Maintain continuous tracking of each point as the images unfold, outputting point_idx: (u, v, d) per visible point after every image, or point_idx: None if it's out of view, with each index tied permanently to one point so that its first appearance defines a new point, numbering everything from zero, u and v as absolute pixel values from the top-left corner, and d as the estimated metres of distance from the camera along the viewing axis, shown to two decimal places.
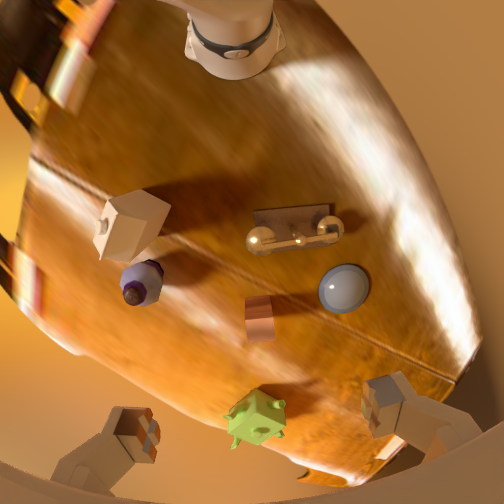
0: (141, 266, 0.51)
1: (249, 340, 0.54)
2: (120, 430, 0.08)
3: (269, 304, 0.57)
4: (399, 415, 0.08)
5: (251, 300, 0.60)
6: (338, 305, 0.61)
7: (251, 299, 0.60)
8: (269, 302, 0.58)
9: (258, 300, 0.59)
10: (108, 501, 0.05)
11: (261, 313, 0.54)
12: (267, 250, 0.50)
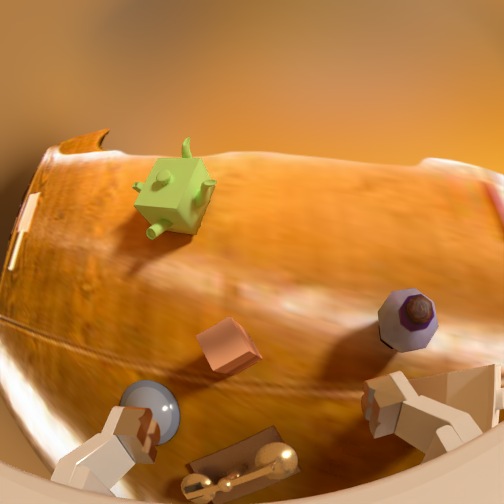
0: (418, 347, 0.31)
1: (229, 321, 0.36)
2: (121, 429, 0.08)
3: (227, 372, 0.38)
4: (399, 415, 0.08)
5: (253, 362, 0.40)
6: (145, 391, 0.42)
7: (253, 362, 0.41)
8: (228, 373, 0.39)
9: (244, 366, 0.40)
10: (108, 501, 0.05)
11: (231, 364, 0.35)
12: (262, 453, 0.29)
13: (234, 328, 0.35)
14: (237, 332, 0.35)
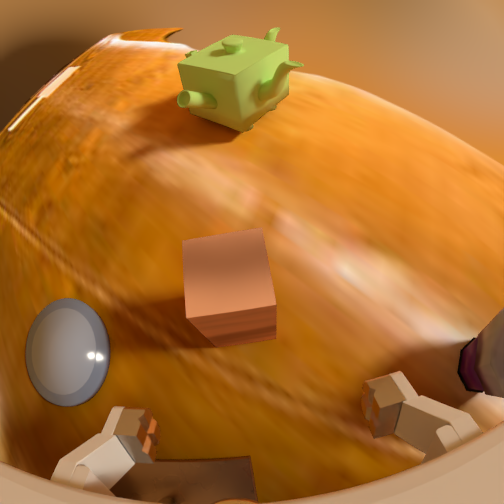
0: None
1: (258, 235, 0.18)
2: (121, 430, 0.08)
3: (210, 336, 0.21)
4: (399, 415, 0.08)
5: (260, 337, 0.23)
6: (72, 317, 0.25)
7: (259, 339, 0.23)
8: (211, 339, 0.21)
9: (242, 339, 0.22)
10: (108, 501, 0.05)
11: (226, 321, 0.18)
12: None
13: (262, 251, 0.18)
14: (265, 261, 0.17)
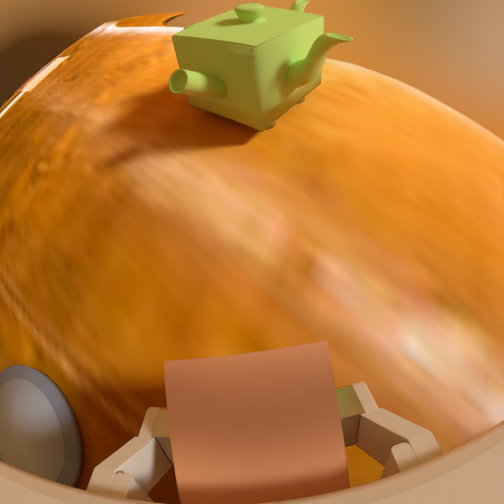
0: None
1: (319, 359, 0.08)
2: (160, 432, 0.08)
3: None
4: (358, 427, 0.08)
5: None
6: (31, 393, 0.15)
7: None
8: None
9: None
10: (108, 501, 0.05)
11: None
12: None
13: (329, 395, 0.08)
14: (335, 414, 0.07)
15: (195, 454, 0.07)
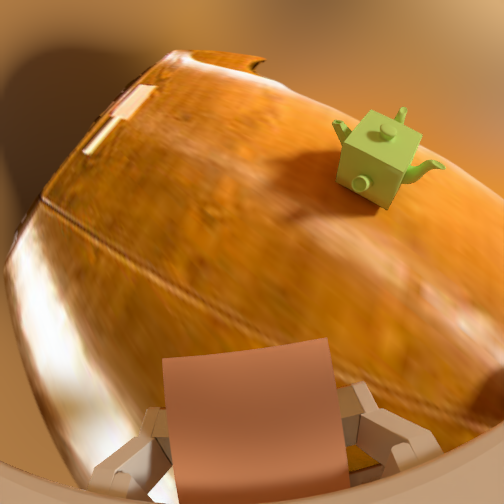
0: None
1: (319, 357, 0.08)
2: (160, 432, 0.08)
3: None
4: (359, 427, 0.08)
5: None
6: None
7: None
8: None
9: None
10: (108, 501, 0.05)
11: None
12: None
13: (329, 393, 0.08)
14: (335, 412, 0.07)
15: (194, 452, 0.07)
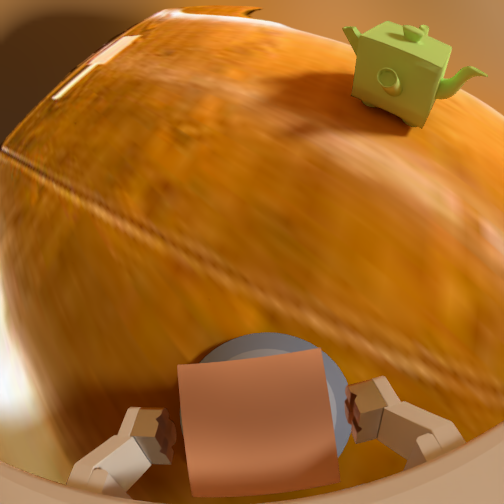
0: None
1: (314, 364, 0.10)
2: (138, 431, 0.08)
3: None
4: (381, 421, 0.08)
5: None
6: None
7: None
8: None
9: None
10: (108, 501, 0.05)
11: None
12: None
13: (322, 395, 0.09)
14: (327, 412, 0.09)
15: (205, 446, 0.08)
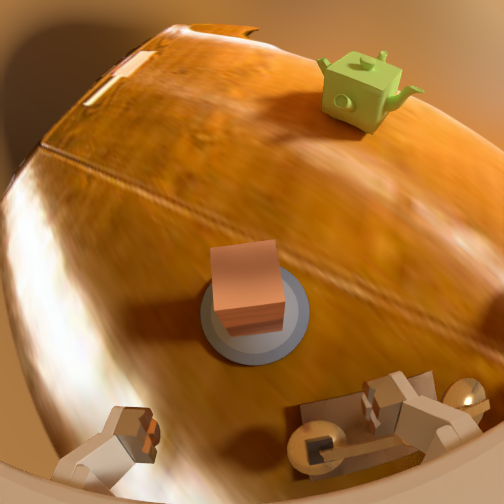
0: None
1: (272, 246, 0.23)
2: (120, 430, 0.08)
3: (228, 327, 0.25)
4: (399, 415, 0.08)
5: (269, 329, 0.27)
6: None
7: (268, 330, 0.28)
8: (229, 329, 0.26)
9: (254, 330, 0.27)
10: (108, 501, 0.05)
11: (244, 314, 0.22)
12: (454, 391, 0.18)
13: (275, 259, 0.22)
14: (277, 267, 0.22)
15: (222, 283, 0.22)
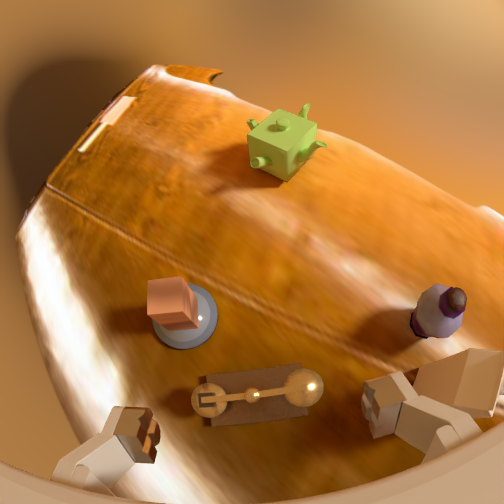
0: (443, 334, 0.36)
1: (179, 280, 0.40)
2: (121, 430, 0.08)
3: (162, 324, 0.42)
4: (399, 415, 0.08)
5: (188, 326, 0.44)
6: None
7: (189, 327, 0.45)
8: (163, 325, 0.43)
9: (179, 326, 0.44)
10: (108, 501, 0.05)
11: (165, 317, 0.39)
12: (294, 376, 0.35)
13: (180, 287, 0.39)
14: (180, 292, 0.39)
15: (152, 300, 0.39)
